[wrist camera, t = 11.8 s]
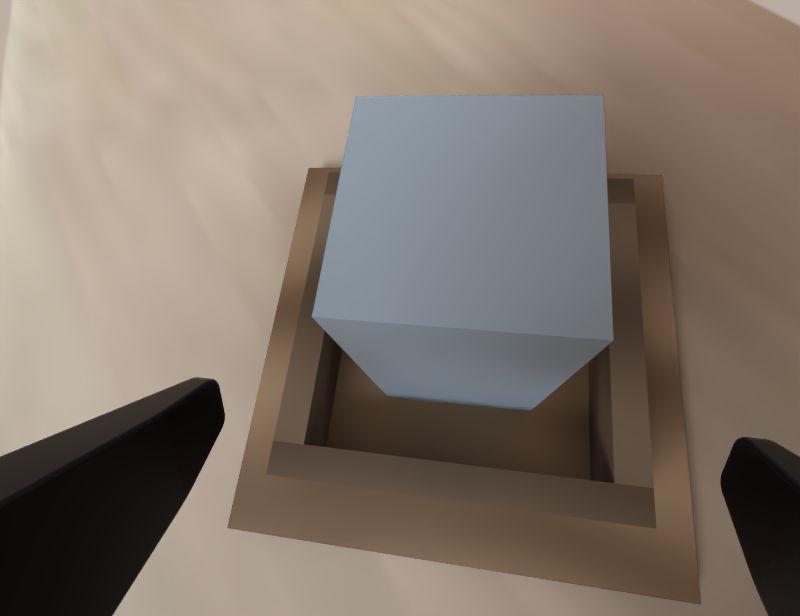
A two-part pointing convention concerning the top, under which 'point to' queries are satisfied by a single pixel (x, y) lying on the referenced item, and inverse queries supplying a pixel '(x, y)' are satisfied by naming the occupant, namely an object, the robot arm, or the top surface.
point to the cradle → (485, 437)
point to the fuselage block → (470, 246)
